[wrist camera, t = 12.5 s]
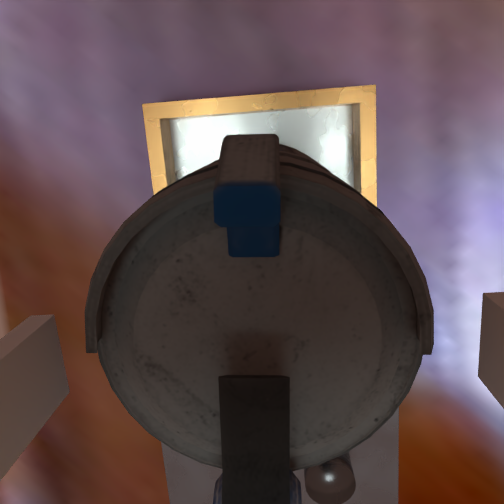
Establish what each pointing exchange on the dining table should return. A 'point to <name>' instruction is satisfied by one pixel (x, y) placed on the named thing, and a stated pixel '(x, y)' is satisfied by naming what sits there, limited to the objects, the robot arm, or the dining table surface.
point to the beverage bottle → (259, 317)
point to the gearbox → (338, 163)
